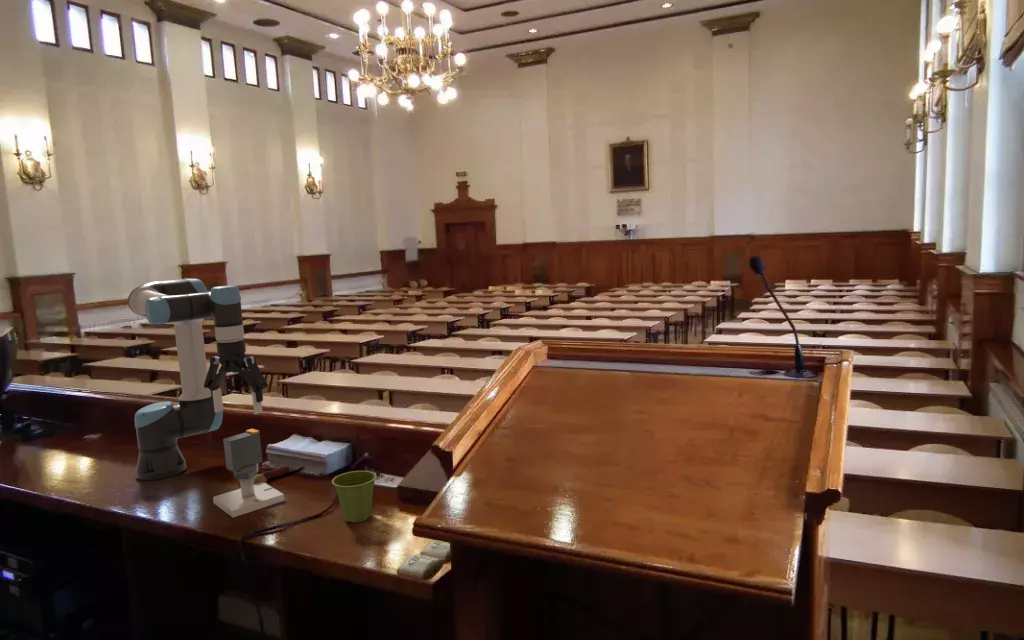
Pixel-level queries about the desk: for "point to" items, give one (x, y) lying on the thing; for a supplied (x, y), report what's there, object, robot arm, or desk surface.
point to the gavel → (269, 474)
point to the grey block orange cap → (243, 453)
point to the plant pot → (355, 494)
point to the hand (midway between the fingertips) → (238, 412)
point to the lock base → (248, 498)
